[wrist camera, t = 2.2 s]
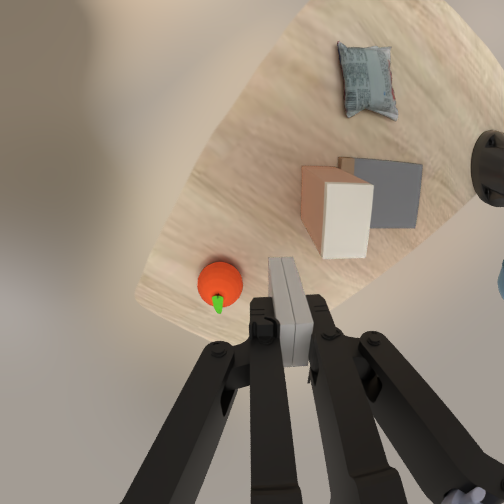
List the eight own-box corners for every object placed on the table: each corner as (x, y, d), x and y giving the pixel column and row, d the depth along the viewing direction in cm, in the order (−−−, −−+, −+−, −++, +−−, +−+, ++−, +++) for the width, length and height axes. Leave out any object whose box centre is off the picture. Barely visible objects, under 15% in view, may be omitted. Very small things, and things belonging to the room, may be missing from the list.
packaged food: (384, 51, 30) (398, 44, 26) (391, 121, 35) (407, 121, 31) (331, 45, 31) (341, 35, 26) (339, 118, 35) (350, 117, 31)
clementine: (243, 297, 47) (242, 323, 41) (202, 296, 47) (196, 322, 41) (243, 254, 44) (242, 277, 37) (199, 253, 44) (191, 275, 37)
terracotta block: (335, 166, 38) (373, 185, 25) (332, 218, 42) (365, 257, 29) (301, 165, 38) (327, 183, 25) (300, 218, 42) (322, 259, 29)
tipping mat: (421, 164, 37) (426, 165, 36) (414, 227, 42) (418, 230, 41) (338, 156, 38) (341, 157, 36) (334, 227, 42) (337, 230, 41)
